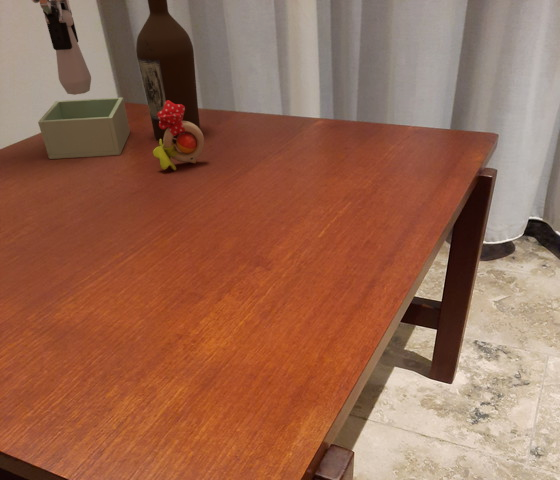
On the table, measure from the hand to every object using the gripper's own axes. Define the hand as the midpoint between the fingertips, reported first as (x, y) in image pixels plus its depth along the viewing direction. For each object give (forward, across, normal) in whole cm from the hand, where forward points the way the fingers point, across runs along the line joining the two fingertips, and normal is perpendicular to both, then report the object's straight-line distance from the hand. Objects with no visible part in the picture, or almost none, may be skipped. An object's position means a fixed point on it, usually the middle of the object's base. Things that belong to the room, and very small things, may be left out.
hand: (66, 45), depth 100 cm
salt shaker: (+8, 0, 0) cm, 8 cm away
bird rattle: (+18, +14, +19) cm, 30 cm away
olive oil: (+18, -3, +17) cm, 25 cm away
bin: (+18, 0, 0) cm, 18 cm away
